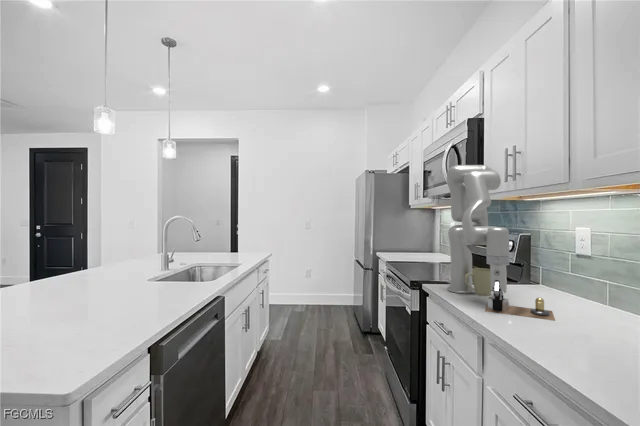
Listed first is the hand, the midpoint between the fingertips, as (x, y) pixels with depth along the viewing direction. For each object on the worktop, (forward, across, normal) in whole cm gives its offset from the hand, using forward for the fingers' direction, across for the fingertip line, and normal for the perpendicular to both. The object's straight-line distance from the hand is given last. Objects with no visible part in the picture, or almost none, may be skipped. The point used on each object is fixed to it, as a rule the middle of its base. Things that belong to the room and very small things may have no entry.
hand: (498, 307), depth 122 cm
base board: (+2, 0, -6) cm, 7 cm away
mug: (+2, +21, +8) cm, 23 cm away
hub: (0, 0, -13) cm, 13 cm away
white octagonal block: (0, 0, 0) cm, 0 cm away
